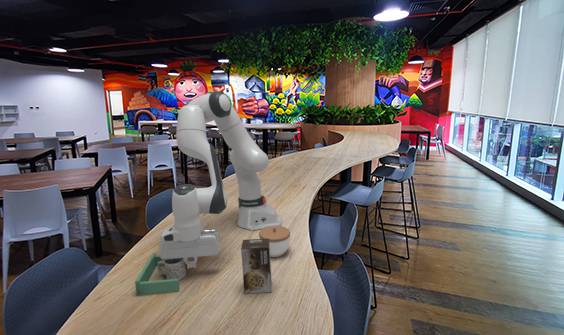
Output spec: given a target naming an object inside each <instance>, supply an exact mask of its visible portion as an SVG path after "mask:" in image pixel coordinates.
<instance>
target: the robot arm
mask: <svg viewBox="0 0 564 335" xmlns="http://www.w3.org/2000/svg"><path fill="white" fill-rule="evenodd" d="M212 122H214V123H215V125H216V127H217V129H218V131H219V133H220V134H221V136H222V138H223V140H224V142H225V143H226V145H227V146H228V147H229V148H230V149H231V150H230V153H229V160H230V163H231V164H232V166H233V169H234V173H235V176H236V179H237V186H238V198H237V203H238V211H239V212H238V219H237V223H236V224H237V226H238V227H240V228H242V229H247V231H257V230H259V231H260V230H262V229H263V228H265V227H269V226H281V225H282V222H283V221H282V218H281V217H280V215H278V213H277V211H276V209H275V208H274V207H273V206H272V205H271V204H269V203H268V202H267V201H268V200H267V198H266V197H265V196H264V195H262V186H261V179H260V178H259V175H258V174H257V173H262V172H264V171H265V170H266V169H267V168H268V166H269V163H270V162H269V161H270V160H269V156H268V155H267V153H265V151H263V150H262V149H261V148H260V147H259V145H258V144H257V143H256V142H255V141H254V139H253V138H252V137H251V135H250V134H249V132H248V131H247V129H246V127H245V124H244V123H243V121H242V119H241V117H240V115H239V114H238V113H237V111H236V109H235V108H234V107H233V105H232V102H231V99H230V97H229V96H228V95H227V94H226V93H224V92H223V91H218V90H217V91H212V92H209V93H205V94H201V95H199V96H198V97H196V98H194V99H190V100H188V101H186V103H185V104H184V105H183V106H182V107H181V108H180V109H179V112H178V115H177V122H176V132H175V133H176V134H175V135H176V145H177V148H178V149H179V150H180V151H181V152H182V153H183V154H185V155H186V156H189V157H190V158H194V159H196V160H199V161H202V162H204V163H205V164H207V167H208V172H209V178H210V181H211V186H209V187H196V186H195V185H193V184H191V183H183V184H180V185H179V184H178V185H177V186H175V187H174V188H173V190H172V195H171V196H172V197H171V204H172V205H171V206H172V208H171V209H172V215H173V218H174V221H173V226H170V227H167V228H166V229H164V231H163V232H162V234H161V235H160V240H161V242H160V243H159V248H158V249H159V250H158V251H159V253H158V255H160V258H161V259H162V260H165V259H177V258H183V261H184V262H185V263H186V264H185V265H186V266H187V269H192V268H193V269H194V268H196V267H197V262H198V259H199V257H208V256H209V257H210V256H218V255H219V252H220V243H219V240H220V232H219V231H217V230H215V229H202V222H201V218H200V215H202V214H203V215H204V214H210V215H220V214H221V213H222V212H223V211H225V209H226V208H227V205H228V197H227V193H226V191H225V187H224V181H223V179H222V172H221V168H220V162H219V159H218V158H219V157H218V155H217V151H216V149H215V146H214V145H211V143H209V141H208V138H207V126H206V123H212ZM188 257H189V258H193V260H192V261H190V259H189V260H188Z"/></svg>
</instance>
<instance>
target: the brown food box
mask: <svg viewBox="0 0 564 335" xmlns="http://www.w3.org/2000/svg"><path fill="white" fill-rule="evenodd" d="M240 247H241V248H240V252H241V255H240V256H241V267H242V277H243V278H242V280H243V293H244V294H256V293H257V294H259V293H260V294H261V293H262V294H263V293H272V290H273V287H272V286H273V285H272V266H271V265H272V264H271V262H272V261H271V257H270V242H269V238H268V239H260V238H251V239H250V238H249V239H242V243H241V246H240Z"/></svg>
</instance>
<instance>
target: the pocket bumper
mask: <svg viewBox="0 0 564 335" xmlns="http://www.w3.org/2000/svg"><path fill="white" fill-rule="evenodd" d="M189 258H190V257H188V260H189V261H190V259H189ZM159 261H163V260H162V259H161V258H160V255H159V254H157V253H156V252H152V254H151V255H150V257H149V259H148V260H147V261H146V263H145V265H143V266H144V267H143V268H142V270H141V271H140V273H139V274H138V276H137V277H136V279H135V281H134V286H135V291H136V292H135V293H136V296H145V295H146V296H147V295H156V294H165V293H175V292H176V293H177V292H178V293H179V292H180V290H181V289H180V280H179V279H168V280H167V279H159V280H150V279H151V277H152V276H153V273H154V272H155V269H156V268H157V265H158V262H159ZM185 265H187V264H186V263H185ZM160 266H161V267H165V265H164V264H161V265H160Z"/></svg>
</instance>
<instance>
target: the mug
mask: <svg viewBox="0 0 564 335" xmlns="http://www.w3.org/2000/svg"><path fill="white" fill-rule="evenodd" d="M161 264H164V265H165V266H164V269H165V270H162V268H161V267H162V266H160V265H161ZM156 268H157V271H158V273H159V274H162V275H164V276H165V278H166V279H165V280H168V279H179V281H181V280H182V281H183V279H184V278H186V276H187V271H186V270H187V269H186V264H185V262H184V261H183V258H177V259H165V260H163V261H159V262H158V265H157V266H156Z"/></svg>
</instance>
